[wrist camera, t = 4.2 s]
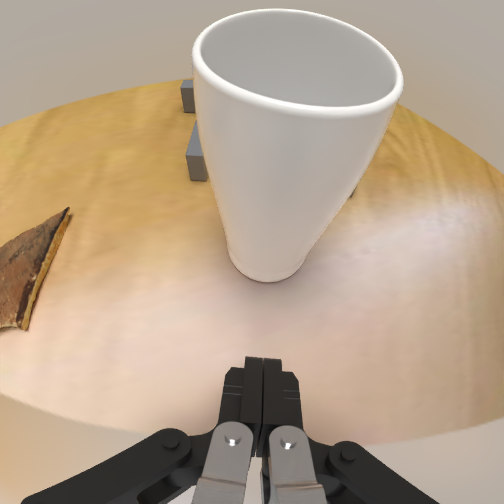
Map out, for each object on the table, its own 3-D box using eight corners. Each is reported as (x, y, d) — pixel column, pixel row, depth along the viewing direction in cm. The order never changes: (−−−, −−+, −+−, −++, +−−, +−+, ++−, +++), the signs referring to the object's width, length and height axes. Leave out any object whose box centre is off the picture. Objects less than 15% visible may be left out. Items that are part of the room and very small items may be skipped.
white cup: (207, 216, 23) (178, 16, 9) (297, 197, 24) (345, 8, 10) (230, 307, 20) (210, 134, 6) (329, 280, 21) (448, 112, 7)
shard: (76, 215, 23) (67, 204, 21) (99, 299, 20) (88, 291, 19) (-16, 269, 21) (-27, 261, 19) (-4, 349, 18) (-17, 345, 16)
